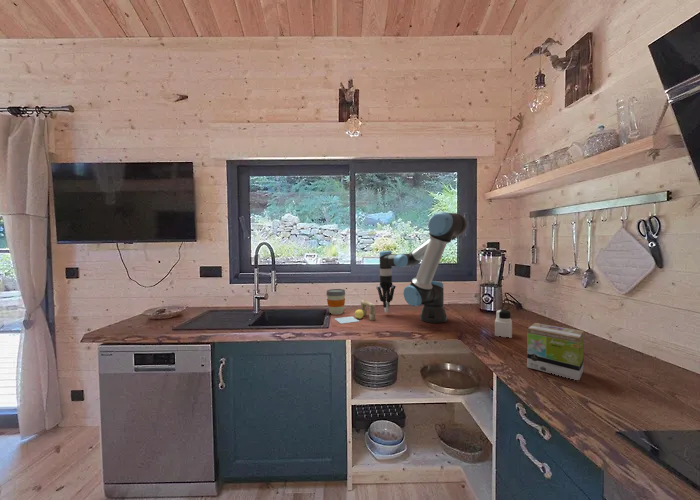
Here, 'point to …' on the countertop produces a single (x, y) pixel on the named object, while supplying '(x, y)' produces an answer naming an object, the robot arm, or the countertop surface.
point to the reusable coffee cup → (336, 300)
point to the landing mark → (346, 320)
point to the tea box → (555, 350)
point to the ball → (359, 314)
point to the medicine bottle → (503, 324)
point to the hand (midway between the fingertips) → (386, 312)
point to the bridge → (371, 309)
